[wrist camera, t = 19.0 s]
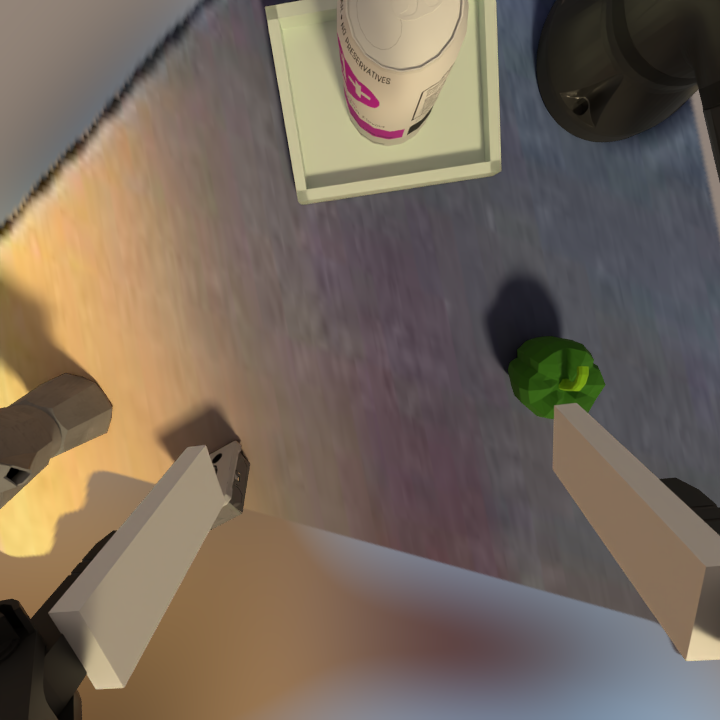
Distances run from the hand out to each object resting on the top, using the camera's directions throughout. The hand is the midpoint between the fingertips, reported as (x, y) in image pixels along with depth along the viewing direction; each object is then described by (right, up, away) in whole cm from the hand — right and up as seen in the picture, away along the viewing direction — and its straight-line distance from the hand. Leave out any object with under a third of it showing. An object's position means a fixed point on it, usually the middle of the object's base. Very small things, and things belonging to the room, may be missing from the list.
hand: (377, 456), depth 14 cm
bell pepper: (+20, +3, +30) cm, 36 cm away
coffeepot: (-37, -2, +33) cm, 49 cm away
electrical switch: (-18, -10, +35) cm, 41 cm away
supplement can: (+2, +29, +22) cm, 36 cm away
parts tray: (+2, +29, +23) cm, 37 cm away
